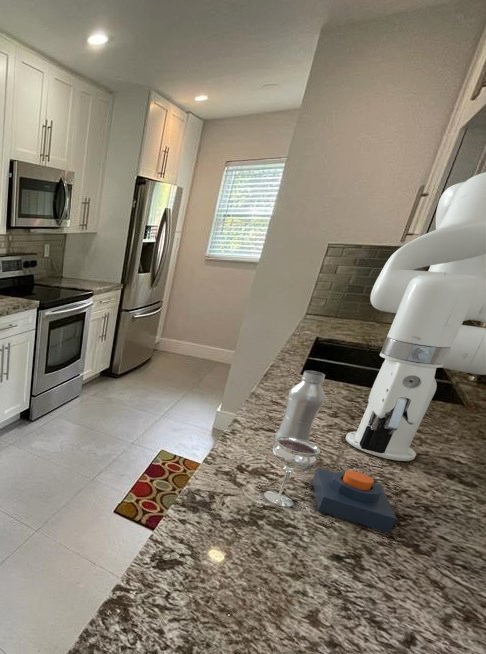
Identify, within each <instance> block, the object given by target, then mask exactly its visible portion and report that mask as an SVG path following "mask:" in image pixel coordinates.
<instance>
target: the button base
mask: <svg viewBox="0 0 486 654" xmlns="http://www.w3.org/2000/svg"><path fill="white" fill-rule="evenodd" d="M345 472H346V471H344V472H342V471H337V472H335V471H331V470H327V469H322V468H319V467H316V470H315V472H314V475H313V478H312V485H313V492H314V497H315V501H316V508H317V511H318V512H321V513H324V514H327V515H331V516H333V517H337V518H340V519H343V520H346V521H349V522H353V523H356V524H359V525H362V526H366V527H369V528H372V529H375V530H379V531H382V532H385V533H388V534H390V533H391V531H392V528H393V526H394V524H395V522H396V520H397V516H396V515H395V512H394V509H393V508H392V506H391V503H390V501H389V499H388V497H387V495H386V492H385V490H384V488H383V486H382V484H378V483H377V482H373V484H372V486H371V488H370V490H362V489H358V488H354V487H352V486H350V485H348V484H346V483H345V482H344V481H343V477H344V475H345Z"/></svg>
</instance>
